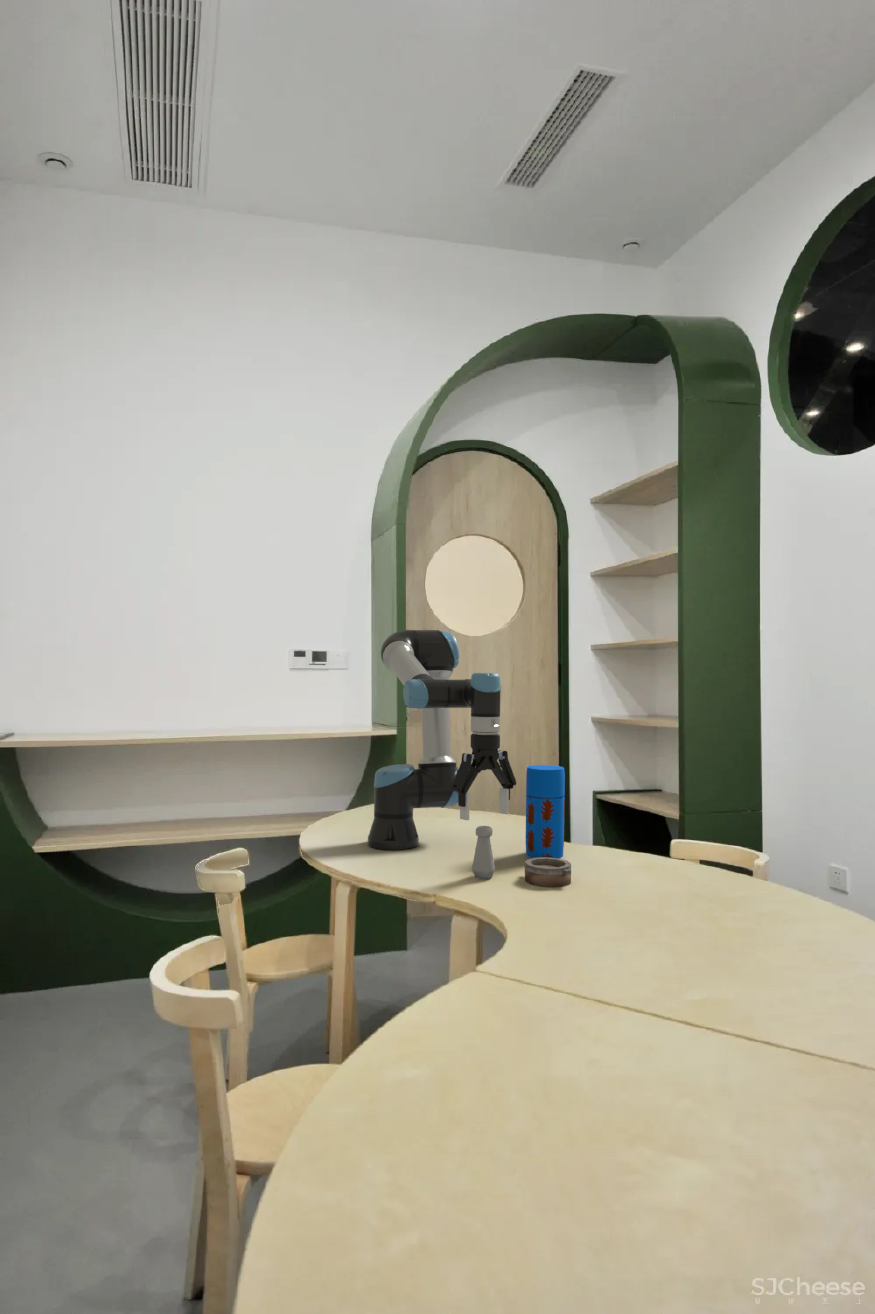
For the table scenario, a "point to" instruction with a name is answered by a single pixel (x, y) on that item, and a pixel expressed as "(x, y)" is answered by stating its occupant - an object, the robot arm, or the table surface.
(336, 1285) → the table surface
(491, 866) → the salt shaker
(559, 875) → the brown bowl with handles
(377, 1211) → the table surface
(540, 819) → the thermos
